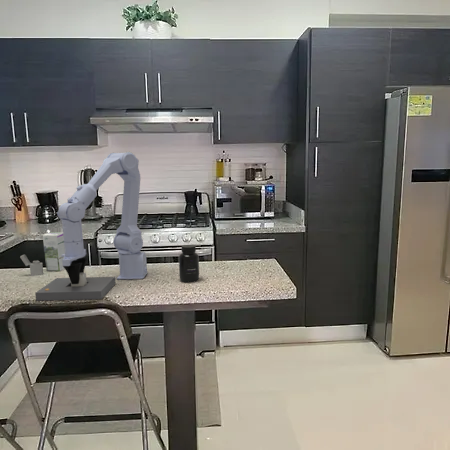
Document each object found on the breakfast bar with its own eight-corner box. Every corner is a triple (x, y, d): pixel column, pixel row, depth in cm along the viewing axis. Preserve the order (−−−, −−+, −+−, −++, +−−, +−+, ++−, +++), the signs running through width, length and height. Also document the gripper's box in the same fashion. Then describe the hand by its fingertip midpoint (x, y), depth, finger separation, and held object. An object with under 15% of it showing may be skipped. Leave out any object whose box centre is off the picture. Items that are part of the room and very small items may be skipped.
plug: (87, 290, 128) (85, 268, 127) (84, 293, 125) (82, 271, 124) (75, 290, 128) (73, 269, 127) (71, 293, 125) (69, 271, 124)
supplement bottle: (191, 284, 132) (190, 249, 130) (175, 281, 135) (174, 247, 133) (203, 278, 137) (202, 245, 135) (187, 276, 141) (186, 243, 139)
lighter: (43, 273, 149) (41, 253, 148) (42, 274, 148) (40, 254, 146) (23, 275, 148) (21, 254, 147) (22, 276, 146) (19, 255, 145)
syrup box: (67, 267, 157) (64, 231, 155) (59, 271, 151) (56, 234, 149) (53, 267, 158) (50, 231, 155) (45, 271, 152) (42, 234, 150)
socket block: (115, 283, 134) (115, 276, 134) (101, 299, 119) (100, 290, 119) (57, 285, 134) (56, 277, 134) (36, 300, 119) (35, 292, 119)
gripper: (69, 236, 131) (73, 275, 133) (50, 245, 117) (55, 289, 119) (91, 236, 131) (94, 275, 133) (74, 245, 117) (78, 289, 119)
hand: (77, 282), depth 126 cm, fingers closed on plug, 3 cm apart
